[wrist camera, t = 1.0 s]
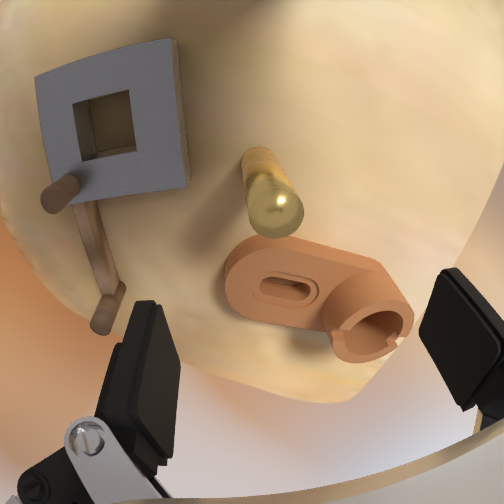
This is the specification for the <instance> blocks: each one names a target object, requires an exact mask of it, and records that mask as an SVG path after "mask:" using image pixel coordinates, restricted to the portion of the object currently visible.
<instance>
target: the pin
mask: <svg viewBox="0 0 504 504" xmlns="http://www.w3.org/2000/svg"><path fill="white" fill-rule="evenodd" d="M241 167H242V174H243V180H244V187H245V194H246V200H247V207H248V214H249V220H250V223H251V226H252V227H253V229H254V230H255V231H256V232H257V233H258V234H260V235H261V236H263V237H266V238H270V239H279V238H284V237H287V236H289V235H291V234H292V233H293V232H295V231H296V230H297V229H298V227H299V226H300V224H301V223H302V220H303V216H304V208H303V204H302V202H301V200H300V198H299V197H298V195H297V193H296V191H295V190H294V188H293V186H292V185H291V183H290V181H289V180H288V178H287V176H286V174H285V173H284V171H283V169H282V168H281V166H280V164H279V163H278V161H277V159H276V158H275V156H274V155H273V153H272V152H271V151H270V150H268V149H266V148H263V147H255V148H252V149H250V150H248V151H247V152H246V153H245V154H244V156H243V158H242V161H241Z"/></svg>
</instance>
